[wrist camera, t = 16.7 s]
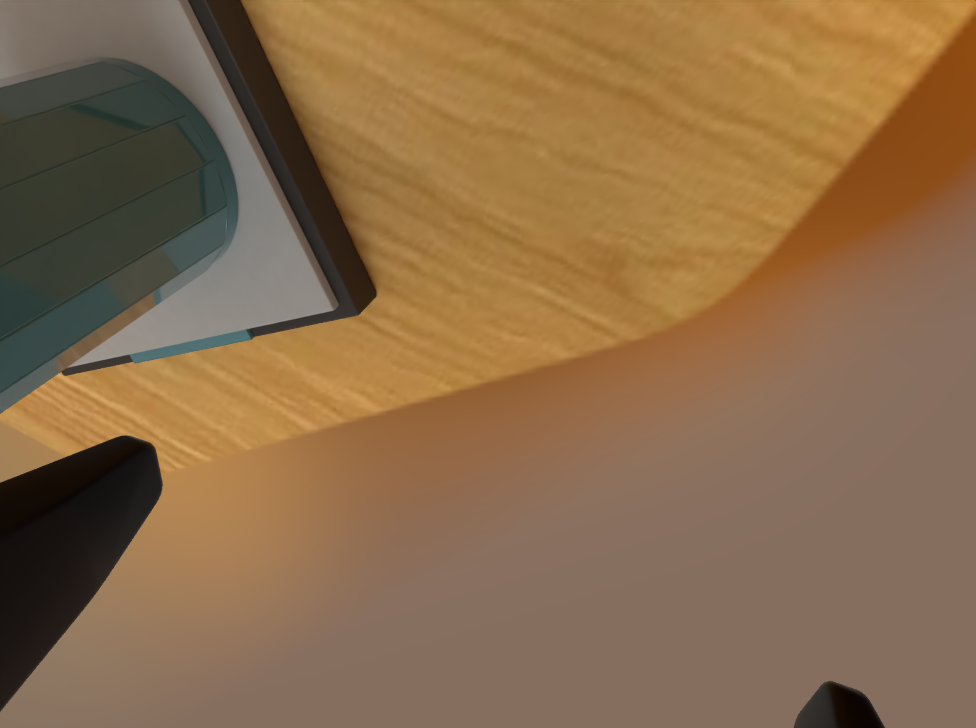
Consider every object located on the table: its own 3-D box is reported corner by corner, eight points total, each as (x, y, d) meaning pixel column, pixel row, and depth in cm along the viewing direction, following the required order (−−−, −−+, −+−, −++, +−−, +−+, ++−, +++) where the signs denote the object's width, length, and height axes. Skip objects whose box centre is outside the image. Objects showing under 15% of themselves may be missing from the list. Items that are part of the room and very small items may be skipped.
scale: (378, 295, 23) (353, 321, 22) (89, 358, 30) (56, 382, 28) (123, -251, 17) (65, -263, 15) (-175, -17, 23) (-235, -12, 22)
